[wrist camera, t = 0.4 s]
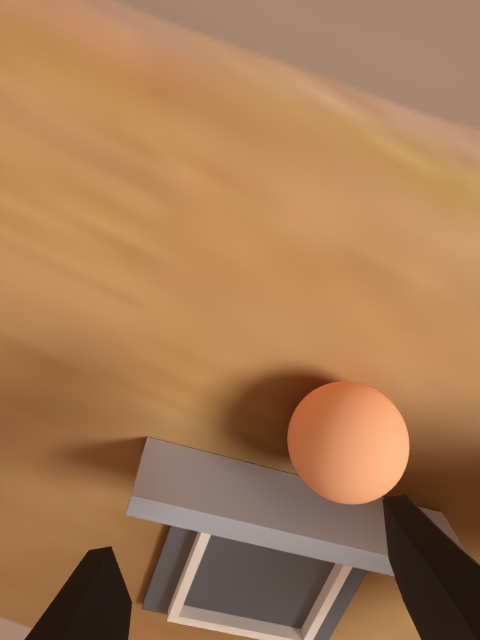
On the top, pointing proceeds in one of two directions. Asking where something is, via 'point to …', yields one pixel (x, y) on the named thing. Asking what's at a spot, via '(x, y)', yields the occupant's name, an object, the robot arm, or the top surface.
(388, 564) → the grey wall
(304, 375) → the top surface
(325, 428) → the coral ball
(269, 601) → the mat
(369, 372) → the top surface
